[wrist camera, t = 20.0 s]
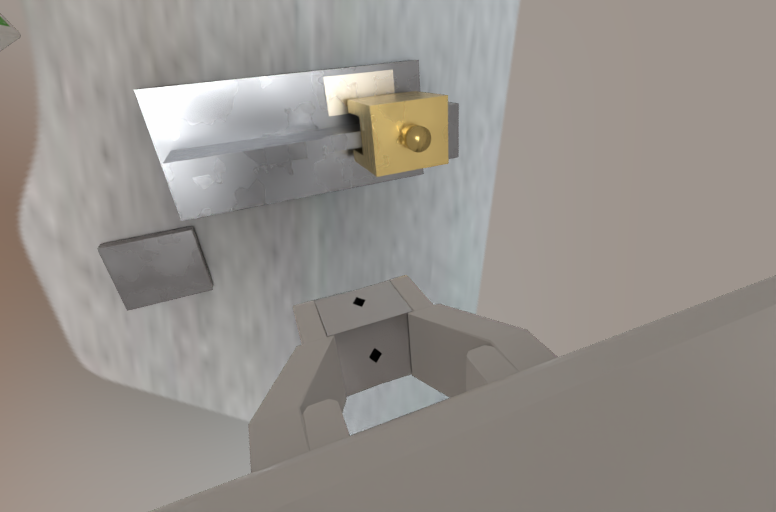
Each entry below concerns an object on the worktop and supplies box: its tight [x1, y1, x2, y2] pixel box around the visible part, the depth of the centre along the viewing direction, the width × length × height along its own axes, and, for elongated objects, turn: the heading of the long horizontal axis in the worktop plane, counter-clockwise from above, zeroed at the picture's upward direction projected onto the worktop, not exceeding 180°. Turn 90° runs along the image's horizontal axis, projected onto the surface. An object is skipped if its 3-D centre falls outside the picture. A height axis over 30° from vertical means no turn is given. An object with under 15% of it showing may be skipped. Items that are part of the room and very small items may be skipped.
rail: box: [134, 60, 458, 221], centre depth 30 cm, size 10×22×8 cm, turn 95°
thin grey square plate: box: [98, 226, 213, 311], centre depth 34 cm, size 6×7×1 cm
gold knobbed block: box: [347, 91, 448, 177], centre depth 30 cm, size 5×6×7 cm
